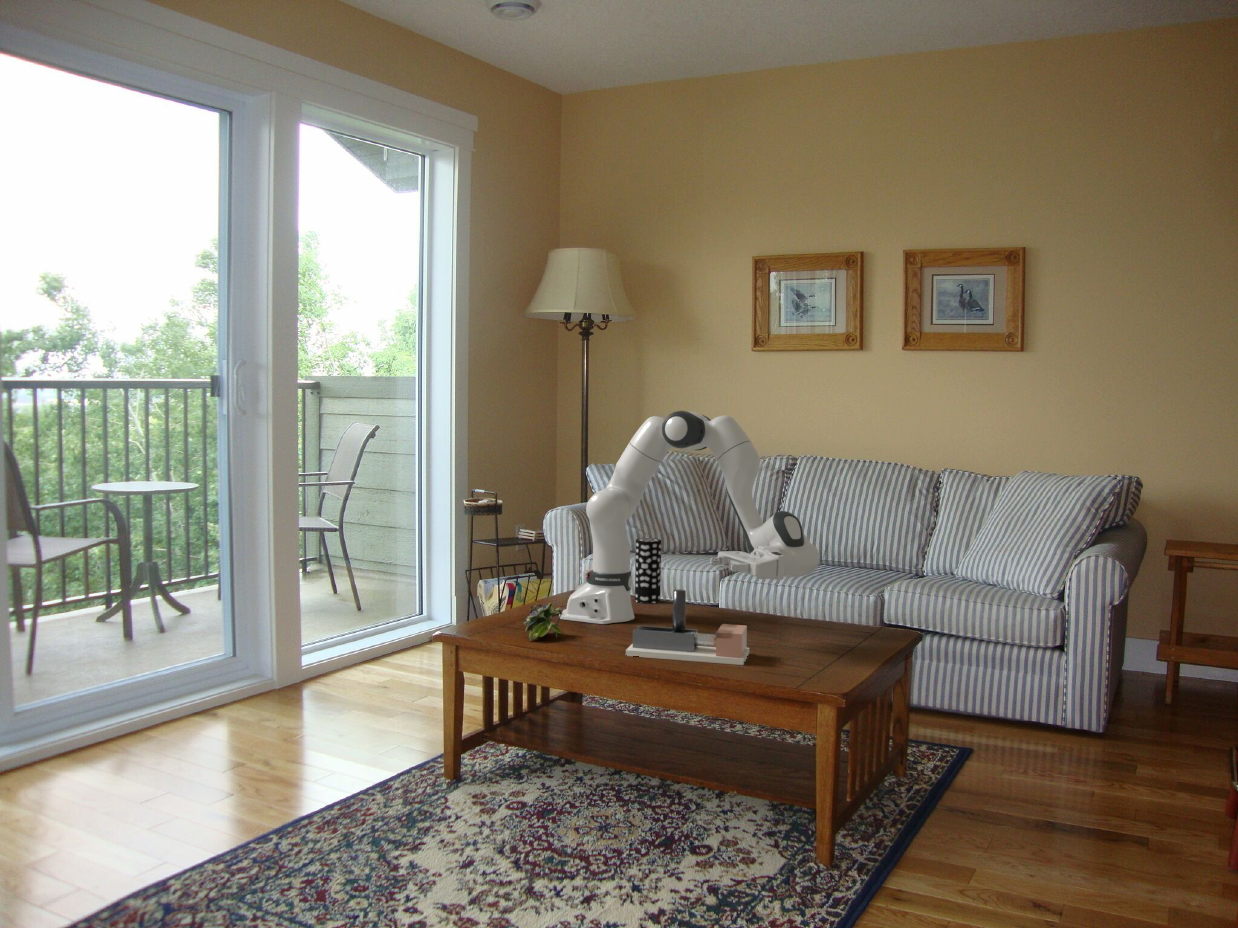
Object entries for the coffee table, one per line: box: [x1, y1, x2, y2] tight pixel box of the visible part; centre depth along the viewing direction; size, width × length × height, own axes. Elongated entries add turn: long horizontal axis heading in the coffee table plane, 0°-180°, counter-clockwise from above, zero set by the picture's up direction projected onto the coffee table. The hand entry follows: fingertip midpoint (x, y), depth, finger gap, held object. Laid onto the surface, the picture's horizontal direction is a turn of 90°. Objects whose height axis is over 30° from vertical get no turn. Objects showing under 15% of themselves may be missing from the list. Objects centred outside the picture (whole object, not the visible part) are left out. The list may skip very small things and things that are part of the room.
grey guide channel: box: [632, 624, 699, 652], centre depth 261 cm, size 16×6×5 cm, turn 76°
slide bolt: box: [671, 588, 716, 647], centre depth 258 cm, size 16×3×14 cm, turn 76°
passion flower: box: [523, 602, 563, 642], centre depth 276 cm, size 11×11×12 cm
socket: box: [715, 623, 748, 658], centre depth 256 cm, size 6×10×6 cm, turn 166°
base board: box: [625, 642, 750, 666], centre depth 259 cm, size 30×12×2 cm, turn 76°
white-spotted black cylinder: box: [634, 537, 662, 604], centre depth 327 cm, size 8×8×20 cm
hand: (720, 564), depth 264 cm, fingers open, 8 cm apart
